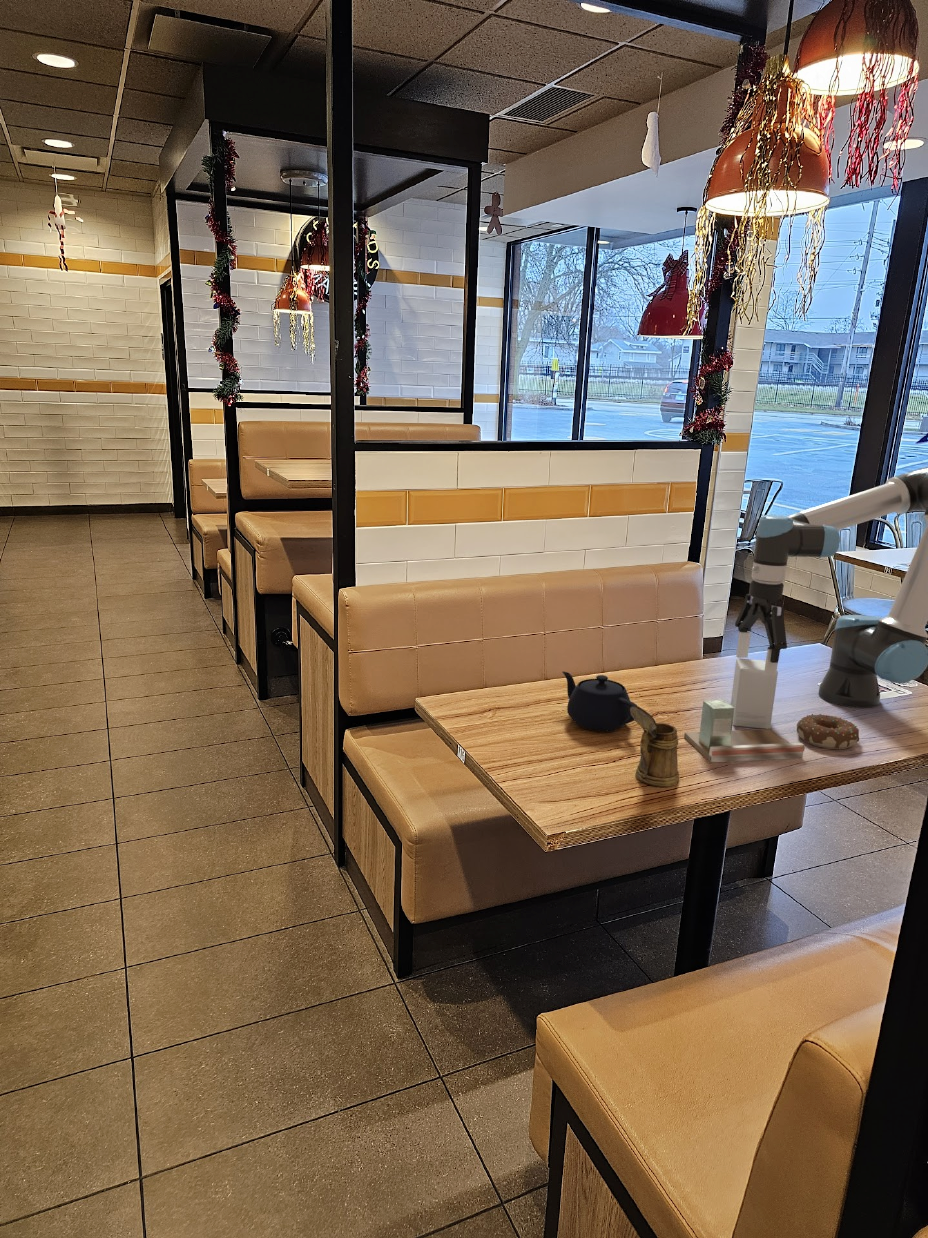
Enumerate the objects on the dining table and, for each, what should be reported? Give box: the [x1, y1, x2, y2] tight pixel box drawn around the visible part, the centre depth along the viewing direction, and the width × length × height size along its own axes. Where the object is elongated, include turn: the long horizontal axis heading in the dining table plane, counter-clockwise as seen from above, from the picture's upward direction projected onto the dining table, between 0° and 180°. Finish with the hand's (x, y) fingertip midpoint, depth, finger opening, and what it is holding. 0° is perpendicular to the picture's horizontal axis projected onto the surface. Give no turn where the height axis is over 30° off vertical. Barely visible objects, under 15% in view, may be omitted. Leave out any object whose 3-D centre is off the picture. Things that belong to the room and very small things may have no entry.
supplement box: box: [730, 657, 779, 729], centre depth 206 cm, size 9×9×15 cm
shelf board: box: [683, 728, 806, 763], centre depth 191 cm, size 22×14×3 cm, turn 100°
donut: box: [796, 713, 860, 750], centre depth 197 cm, size 14×14×5 cm
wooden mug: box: [630, 705, 680, 788], centre depth 171 cm, size 9×14×18 cm, turn 128°
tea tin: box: [699, 699, 734, 751], centre depth 188 cm, size 5×5×10 cm
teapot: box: [562, 671, 638, 733], centre depth 202 cm, size 25×16×12 cm, turn 37°
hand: (755, 665), depth 204 cm, fingers open, 13 cm apart
